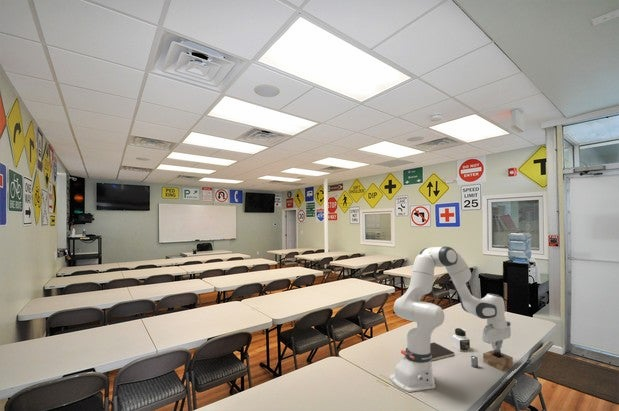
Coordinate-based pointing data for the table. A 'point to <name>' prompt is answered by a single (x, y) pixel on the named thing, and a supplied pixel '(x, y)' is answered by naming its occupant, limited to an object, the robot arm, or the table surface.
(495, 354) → the long pin
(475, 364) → the short pin
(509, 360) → the hole block
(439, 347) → the hardcover book
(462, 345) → the medicine bottle
